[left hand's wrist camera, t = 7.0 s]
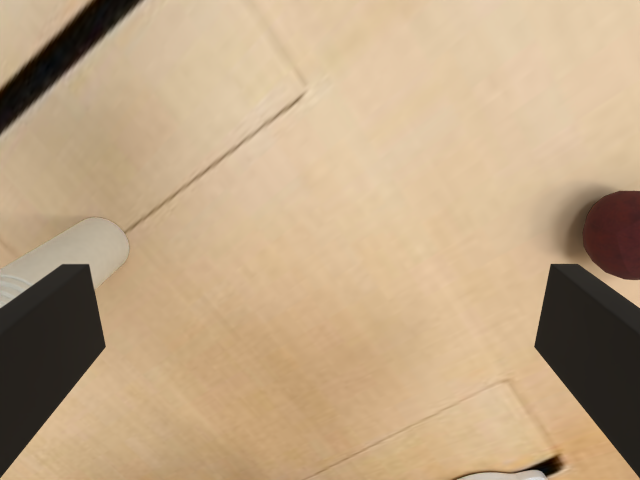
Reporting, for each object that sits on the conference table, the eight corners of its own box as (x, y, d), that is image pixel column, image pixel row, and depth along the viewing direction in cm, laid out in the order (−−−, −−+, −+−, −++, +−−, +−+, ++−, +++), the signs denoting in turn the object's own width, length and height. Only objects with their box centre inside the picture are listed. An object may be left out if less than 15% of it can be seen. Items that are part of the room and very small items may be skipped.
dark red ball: (584, 272, 43) (633, 307, 36) (553, 209, 40) (598, 234, 34) (658, 233, 41) (722, 262, 35) (629, 165, 39) (692, 183, 32)
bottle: (114, 280, 43) (-17, 407, 26) (62, 250, 42) (-108, 363, 25) (139, 238, 42) (18, 344, 25) (86, 205, 41) (-78, 294, 24)
